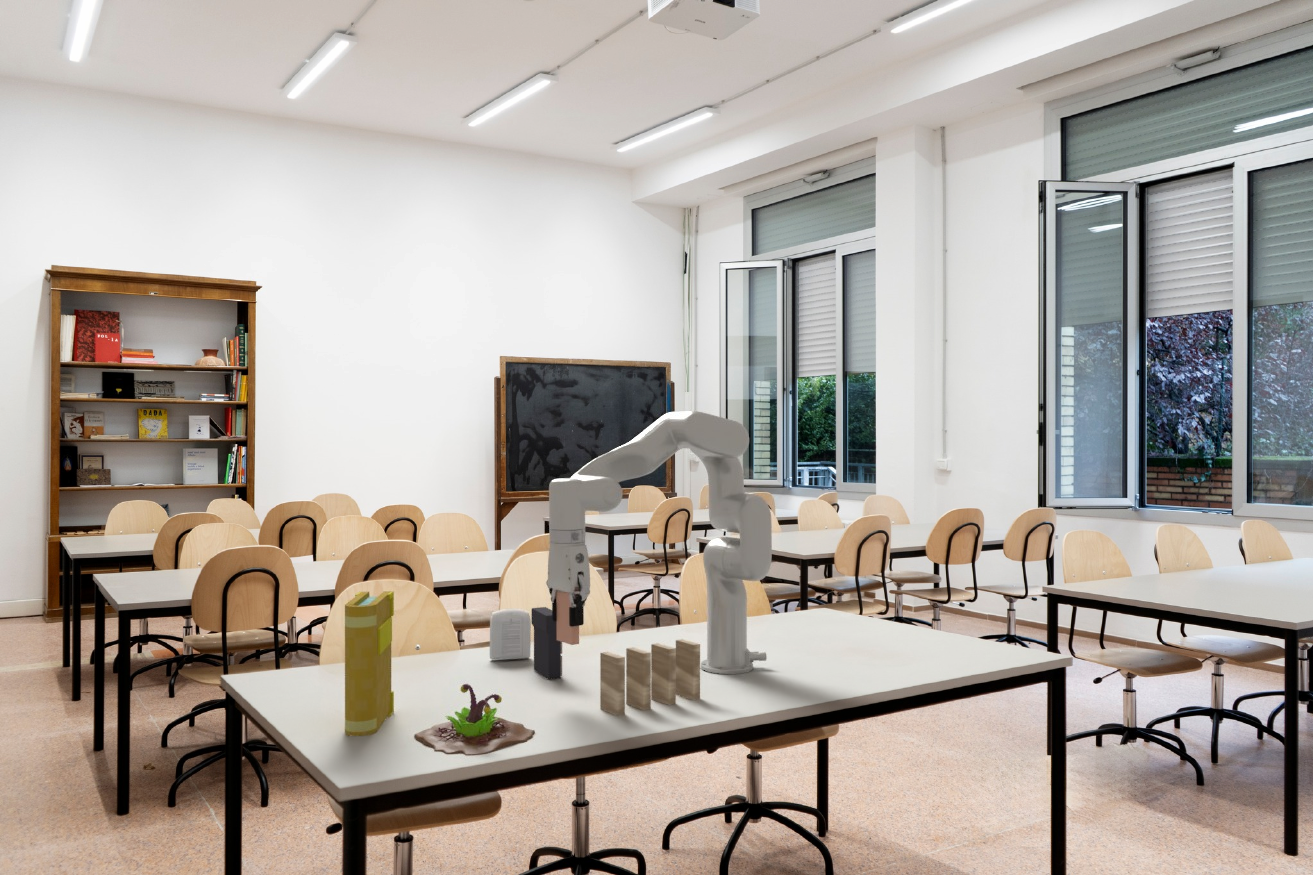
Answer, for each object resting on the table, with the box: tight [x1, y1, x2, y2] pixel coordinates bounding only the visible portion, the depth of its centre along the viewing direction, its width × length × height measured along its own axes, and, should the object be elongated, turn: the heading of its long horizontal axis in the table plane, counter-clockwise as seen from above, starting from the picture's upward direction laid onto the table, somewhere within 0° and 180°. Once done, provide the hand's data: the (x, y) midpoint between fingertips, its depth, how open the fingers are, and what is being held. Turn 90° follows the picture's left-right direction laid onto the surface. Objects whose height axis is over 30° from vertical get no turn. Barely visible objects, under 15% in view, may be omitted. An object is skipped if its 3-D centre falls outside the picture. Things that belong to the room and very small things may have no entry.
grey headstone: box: [489, 608, 532, 660], centre depth 244 cm, size 10×4×12 cm, turn 103°
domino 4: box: [650, 642, 677, 706], centre depth 202 cm, size 2×6×12 cm, turn 38°
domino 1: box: [556, 588, 580, 646], centre depth 203 cm, size 2×6×12 cm, turn 37°
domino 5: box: [675, 638, 701, 701], centre depth 206 cm, size 2×6×12 cm, turn 37°
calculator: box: [531, 606, 563, 681], centre depth 228 cm, size 11×4×15 cm, turn 26°
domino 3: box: [625, 646, 652, 711], centre depth 198 cm, size 2×6×12 cm, turn 37°
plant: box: [413, 683, 536, 757], centre depth 177 cm, size 20×20×11 cm
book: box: [344, 590, 395, 737], centre depth 186 cm, size 17×7×25 cm, turn 5°
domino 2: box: [599, 651, 626, 716], centre depth 194 cm, size 2×6×12 cm, turn 37°
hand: (567, 622), depth 203 cm, fingers closed on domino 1, 5 cm apart
